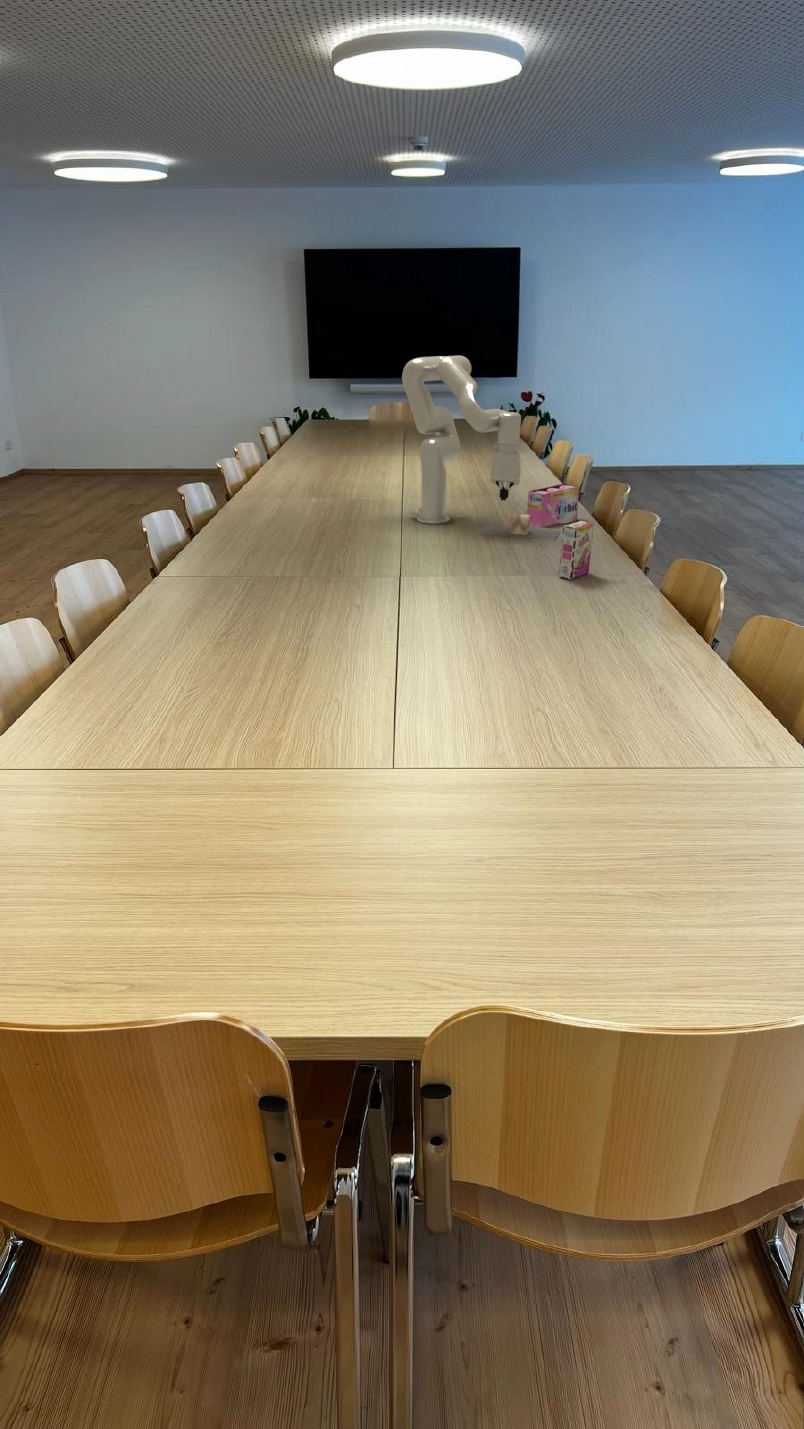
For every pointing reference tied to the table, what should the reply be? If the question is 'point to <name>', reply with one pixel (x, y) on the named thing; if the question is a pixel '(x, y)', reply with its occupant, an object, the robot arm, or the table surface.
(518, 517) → the maple cube
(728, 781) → the table surface
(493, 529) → the rubber mat
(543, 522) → the gum box
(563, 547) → the candy bar box
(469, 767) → the table surface
